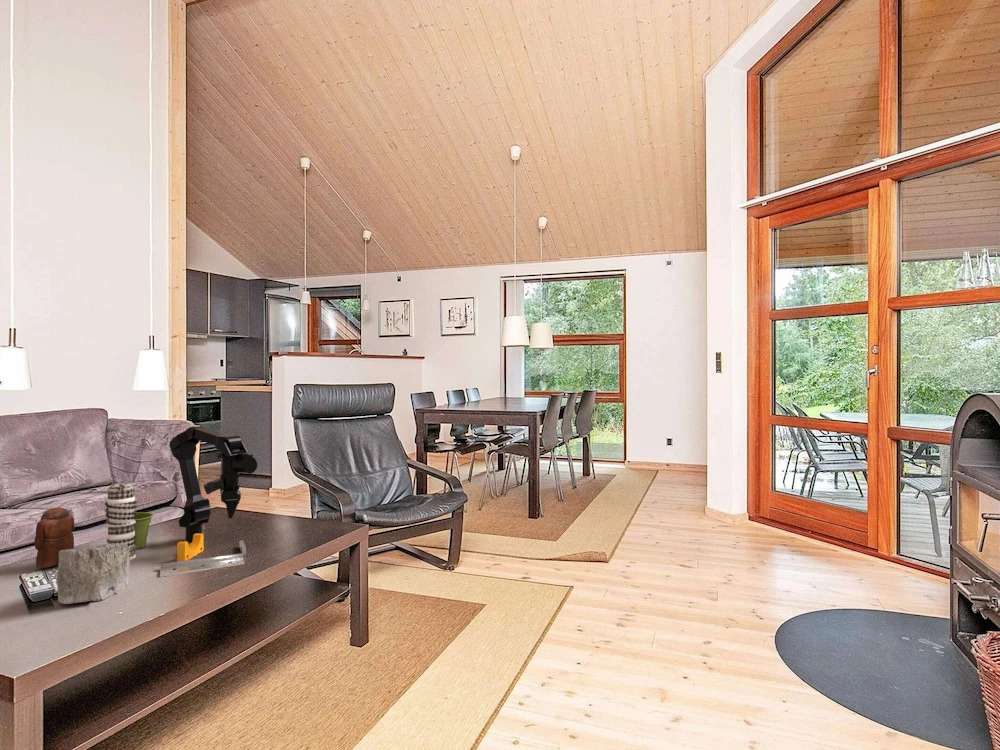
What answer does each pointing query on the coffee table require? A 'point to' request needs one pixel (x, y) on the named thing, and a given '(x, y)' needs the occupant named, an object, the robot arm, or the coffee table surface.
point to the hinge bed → (203, 563)
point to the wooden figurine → (53, 536)
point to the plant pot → (141, 528)
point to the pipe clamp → (190, 548)
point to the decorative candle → (121, 516)
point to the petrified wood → (92, 573)
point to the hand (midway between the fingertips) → (229, 515)
